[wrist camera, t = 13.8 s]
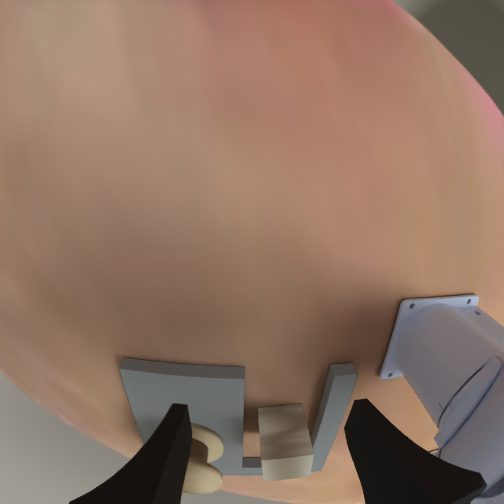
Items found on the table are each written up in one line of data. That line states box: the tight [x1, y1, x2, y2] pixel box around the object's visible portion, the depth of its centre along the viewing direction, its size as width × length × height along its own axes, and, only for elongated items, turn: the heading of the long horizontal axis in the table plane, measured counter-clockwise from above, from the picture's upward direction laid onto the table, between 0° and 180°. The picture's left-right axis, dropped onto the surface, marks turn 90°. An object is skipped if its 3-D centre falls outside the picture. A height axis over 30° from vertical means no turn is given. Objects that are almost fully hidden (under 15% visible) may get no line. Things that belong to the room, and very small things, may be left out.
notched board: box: [119, 358, 358, 475], centre depth 23 cm, size 19×16×2 cm
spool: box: [182, 423, 224, 494], centre depth 20 cm, size 6×6×5 cm
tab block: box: [258, 404, 314, 481], centre depth 21 cm, size 4×4×6 cm
